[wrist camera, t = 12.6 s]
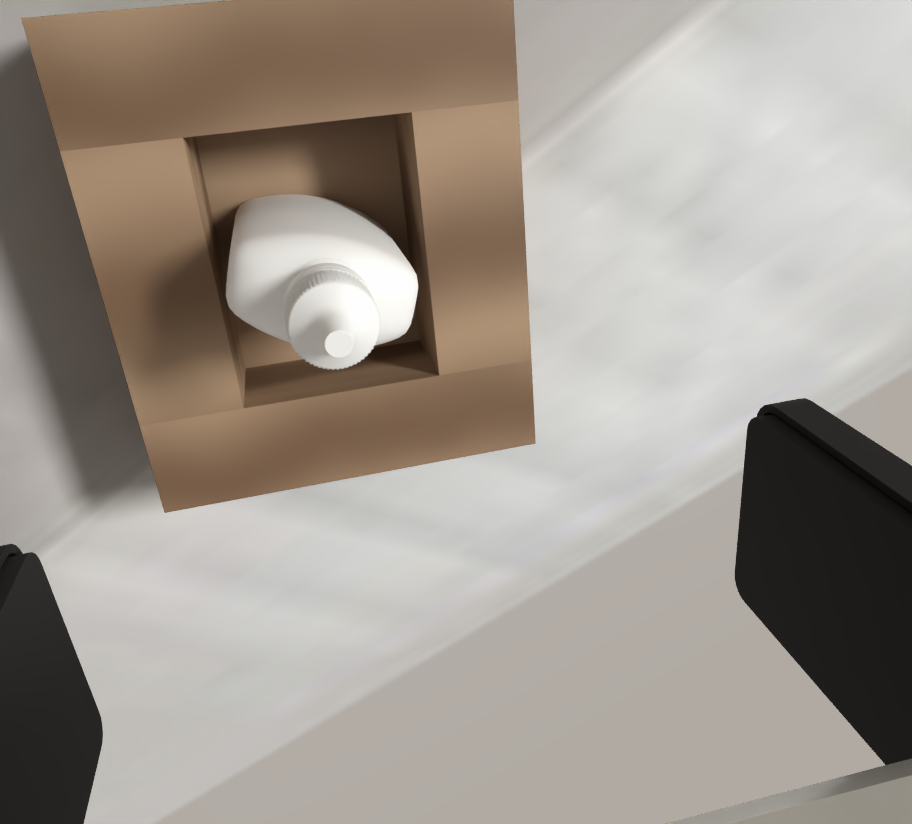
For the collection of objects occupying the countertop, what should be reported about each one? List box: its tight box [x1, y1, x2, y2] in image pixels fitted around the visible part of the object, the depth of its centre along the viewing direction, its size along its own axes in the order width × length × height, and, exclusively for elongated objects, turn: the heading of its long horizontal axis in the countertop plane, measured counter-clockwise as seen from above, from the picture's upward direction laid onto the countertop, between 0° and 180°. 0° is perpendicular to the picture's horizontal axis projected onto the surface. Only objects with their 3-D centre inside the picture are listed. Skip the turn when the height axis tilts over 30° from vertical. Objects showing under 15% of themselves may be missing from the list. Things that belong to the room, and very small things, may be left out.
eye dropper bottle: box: [226, 194, 418, 370], centre depth 24 cm, size 4×6×12 cm
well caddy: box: [21, 0, 535, 513], centre depth 28 cm, size 16×14×5 cm
